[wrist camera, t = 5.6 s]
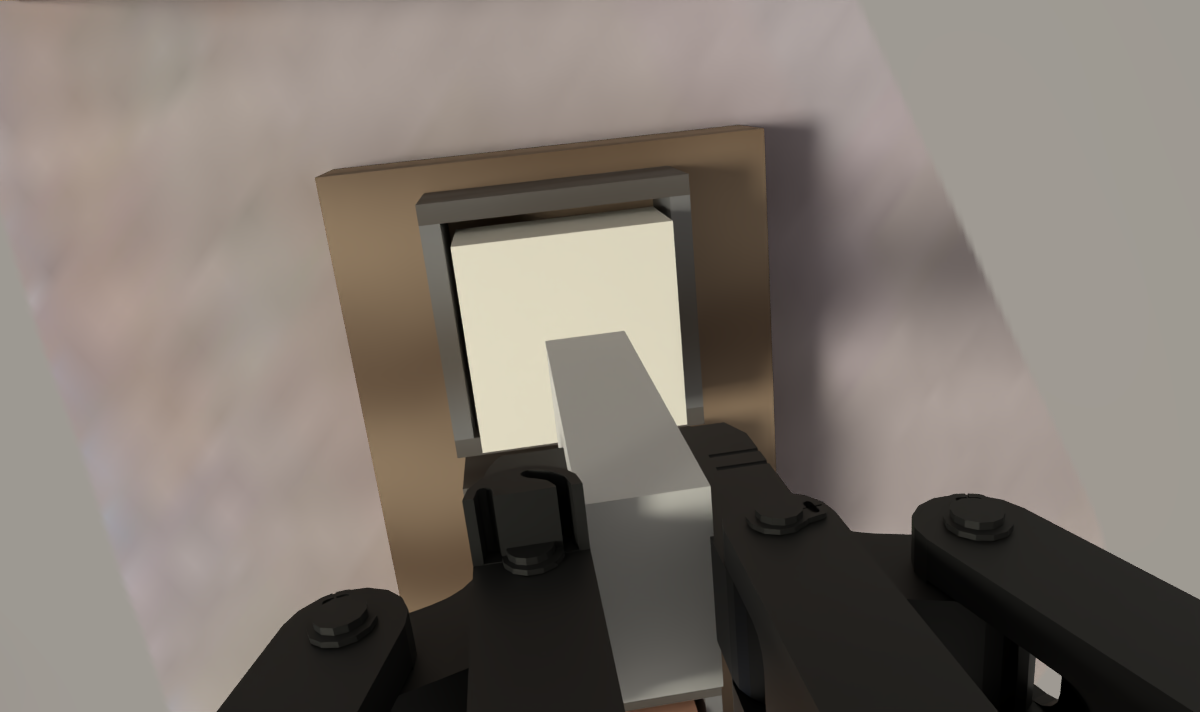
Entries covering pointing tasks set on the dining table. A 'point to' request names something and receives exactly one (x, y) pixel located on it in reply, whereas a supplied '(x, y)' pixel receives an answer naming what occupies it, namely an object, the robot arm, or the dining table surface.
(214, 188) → the dining table surface
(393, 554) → the button panel
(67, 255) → the dining table surface
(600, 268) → the cream button
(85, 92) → the dining table surface
